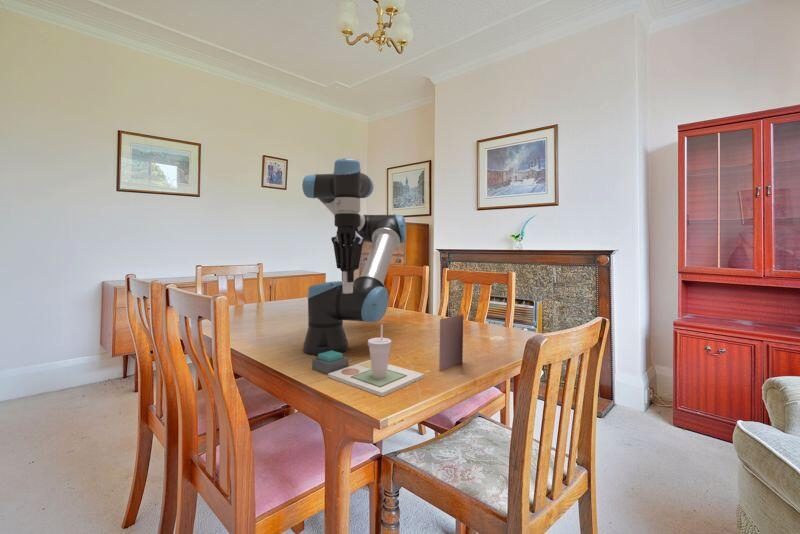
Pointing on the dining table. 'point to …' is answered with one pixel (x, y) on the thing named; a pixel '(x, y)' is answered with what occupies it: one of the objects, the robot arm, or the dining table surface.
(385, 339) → the smoothie
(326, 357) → the button
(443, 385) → the dining table surface
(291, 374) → the dining table surface
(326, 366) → the button housing
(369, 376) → the picture board
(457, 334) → the greeting card
